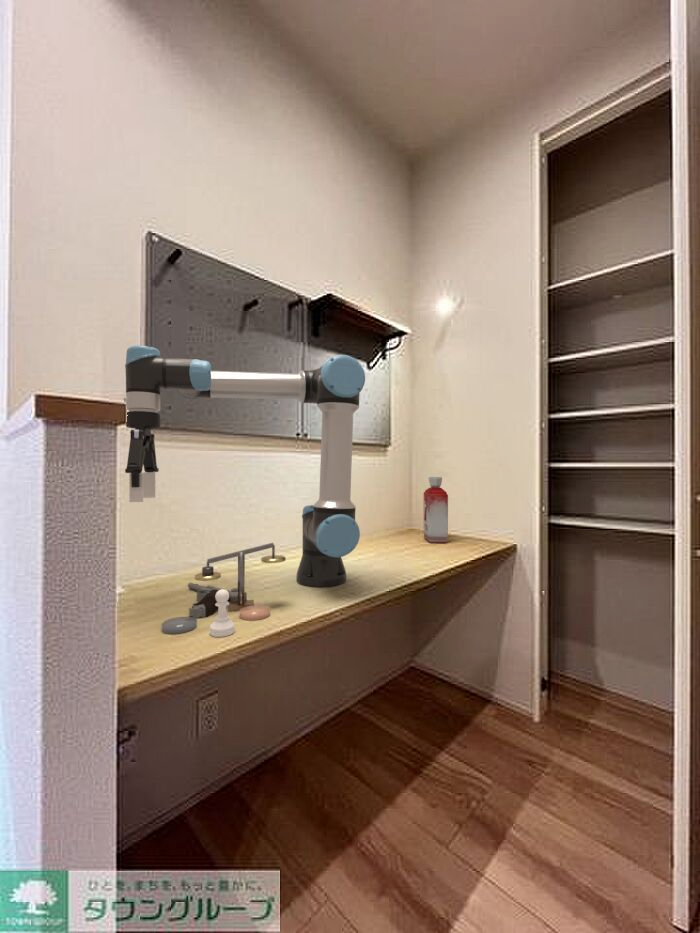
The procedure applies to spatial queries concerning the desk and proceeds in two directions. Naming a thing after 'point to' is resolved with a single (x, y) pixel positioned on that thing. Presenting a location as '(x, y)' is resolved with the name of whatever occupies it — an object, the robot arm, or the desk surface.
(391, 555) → the desk surface
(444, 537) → the bottle
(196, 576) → the balance
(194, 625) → the dish slate
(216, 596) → the chess pawn
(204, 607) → the handgun
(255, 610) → the pink disc
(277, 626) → the desk surface
